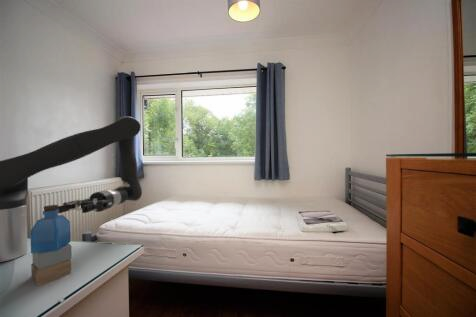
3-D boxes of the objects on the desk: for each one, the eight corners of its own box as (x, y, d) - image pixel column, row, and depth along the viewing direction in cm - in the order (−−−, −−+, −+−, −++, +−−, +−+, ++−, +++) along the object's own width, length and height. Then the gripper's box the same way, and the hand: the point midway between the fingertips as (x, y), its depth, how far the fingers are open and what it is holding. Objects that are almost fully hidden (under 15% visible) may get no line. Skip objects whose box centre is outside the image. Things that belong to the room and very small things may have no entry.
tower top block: (32, 262, 59) (32, 248, 59) (63, 253, 65) (63, 240, 65) (39, 269, 55) (39, 255, 55) (71, 259, 61) (71, 245, 61)
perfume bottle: (57, 250, 57) (56, 207, 57) (30, 253, 56) (29, 209, 56) (70, 241, 63) (69, 203, 63) (46, 244, 62) (45, 204, 62)
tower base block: (31, 277, 58) (31, 263, 58) (62, 266, 64) (62, 254, 64) (38, 286, 54) (37, 271, 54) (71, 273, 60) (70, 259, 60)
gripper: (88, 190, 83) (49, 198, 66) (122, 190, 82) (91, 198, 66) (88, 209, 83) (49, 221, 66) (123, 208, 82) (92, 221, 66)
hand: (70, 209), depth 66 cm, fingers open, 8 cm apart
